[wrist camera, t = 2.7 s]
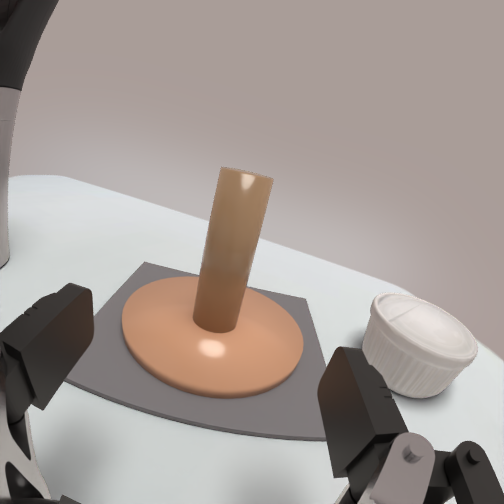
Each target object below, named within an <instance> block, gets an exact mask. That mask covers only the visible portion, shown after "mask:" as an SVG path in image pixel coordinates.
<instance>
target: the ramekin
mask: <svg viewBox="0 0 504 504" xmlns="http://www.w3.org/2000/svg"><path fill="white" fill-rule="evenodd" d="M370 313H371V316H370V319H369V322H368V326H367V329H366V333H365V336H364V340H363V344H362V351H363V353H364V355H365V357H366V359H367V361H368V363H369V365H373V366H374V367H375V368H376V370H377V371H378V372H379V373H380V374H381V375H382V376H383V378H384V380H385V382H386V384H387V386H388V388H389V389H391V390H392V391H394V392H396V393H398V394H401V395H404V396H407V397H411V398H427V397H432V396H435V395H437V394H439V393H440V392H442V391H443V390H444V389H445V388H446V387H447V386H448V385H449V384H450V383H451V382H452V381H453V380H454V379H455V378H456V377H457V376H458V375H459V374H460V373H461V372H462V370H463V369H464V368H466V367H467V366H469V365H470V364H471V363H472V362H473V360H474V358H475V357H476V355H477V352H478V347H477V342H476V340H475V338H474V336H473V335H472V334H471V332H470V331H469V330H468V329H467V328H466V327H465V326H464V325H463V324H462V323H461V322H460V321H459V320H457V319H456V318H455V317H453V316H452V315H451V314H449V313H447V312H446V311H444V310H443V309H441V308H439V307H437V306H435V305H433V304H432V303H429V302H427V301H424V300H422V299H419V298H416V297H413V296H410V295H405V294H400V293H382V294H379V295H377V296H376V297H375V298H374V300H373V302H372V305H371V309H370Z"/></svg>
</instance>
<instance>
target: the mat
mask: <svg viewBox="0 0 504 504" xmlns="http://www.w3.org/2000/svg"><path fill="white" fill-rule="evenodd" d="M186 276H190V277H199V275H196V274H192V273H187V272H183V271H179V270H175V269H171V268H167V267H163V266H159V265H155V264H151V263H147V262H144V263H143V264H142V265H141V266H140V267H139V268H138V269H137V270H136V271H135V272H134V273H133V274H132V275H131V276H130V277H129V279H128V280H127V281H126V282H125V283H124V284H123V285H122V286H121V287H120V288H119V289H118V290H117V291H116V293H115V294H114V295H113V296H112V297H111V298H110V299H109V300H108V301H107V302H106V304H105V305H104V306H103V307H102V308H101V309H100V310H99V311H98V313H97V314H96V315H95V316H94V336H93V340H92V342H91V344H90V346H89V347H88V348H87V350H86V351H85V352H84V354H83V355H82V356H81V358H80V359H79V361H78V362H77V363H76V365H75V366H74V367H73V369H72V370H71V371H70V373H69V374H68V376H67V377H66V378H65V380H64V381H66V382H68V383H70V384H72V385H74V386H77V387H79V388H81V389H84V390H86V391H88V392H91V393H93V394H95V395H98V396H100V397H103V398H106V399H108V400H111V401H113V402H116V403H119V404H122V405H125V406H127V407H130V408H133V409H136V410H140V411H143V412H146V413H149V414H153V415H156V416H159V417H163V418H167V419H170V420H174V421H178V422H182V423H186V424H190V425H195V426H199V427H204V428H209V429H214V430H220V431H225V432H231V433H237V434H244V435H251V436H259V437H268V438H279V439H292V440H311V441H327V440H326V435H325V431H324V426H323V421H322V416H321V412H320V407H319V402H318V397H317V390H318V385H319V382H320V379H321V377H322V375H323V374H324V372H325V370H326V364H325V361H324V357H323V354H322V351H321V347H320V344H319V340H318V337H317V334H316V330H315V327H314V324H313V321H312V317H311V314H310V311H309V308H308V304H307V301H306V299H304V298H299V297H295V296H290V295H285V294H280V293H275V292H271V291H266V290H261V289H257V288H252V287H248V286H246V287H247V288H249V289H252V290H254V291H256V292H259V293H261V294H262V295H264V296H266V297H268V298H270V299H271V300H273V301H274V302H276V303H277V304H279V305H280V306H281V307H282V308H284V309H285V310H286V311H287V312H288V313H289V314H290V315H291V316H292V317H293V319H294V320H295V321H296V323H297V324H298V326H299V328H300V330H301V333H302V336H303V343H304V344H303V352H302V355H301V357H300V360H299V362H298V364H297V366H296V368H295V370H294V372H293V373H292V375H291V376H290V377H289V378H288V379H287V380H286V381H285V382H283V383H282V384H280V385H279V386H278V387H276V388H274V389H272V390H270V391H268V392H265V393H262V394H259V395H256V396H250V397H245V398H235V399H221V398H210V397H204V396H198V395H194V394H191V393H187V392H184V391H181V390H179V389H176V388H174V387H171V386H169V385H167V384H165V383H164V382H162V381H160V380H158V379H157V378H155V377H154V376H152V375H151V374H150V373H148V372H147V371H146V370H145V369H144V368H143V367H142V366H141V365H140V364H138V363H137V361H136V360H135V359H134V358H133V356H132V355H131V354H130V352H129V350H128V348H127V346H126V344H125V341H124V338H123V332H122V313H123V308H124V305H125V303H126V301H127V300H128V298H129V297H130V296H131V295H132V294H133V293H134V292H135V291H136V290H138V289H139V288H141V287H143V286H144V285H146V284H149V283H151V282H154V281H157V280H161V279H166V278H172V277H186Z"/></svg>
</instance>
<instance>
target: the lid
mask: <svg viewBox="0 0 504 504" xmlns="http://www.w3.org/2000/svg"><path fill="white" fill-rule="evenodd" d="M272 184H273V178H270V177H267V176H263V175H260V174H257V173H253V172H248V171H243V170H239V169H233V168H227V167H221V170H220V174H219V179H218V184H217V188H216V193H215V197H214V202H213V207H212V212H211V216H210V221H209V226H208V232H207V237H206V242H205V247H204V252H203V258H202V263H201V269H200V275H199V277H190V276H186V277H172V278H166V279H161V280H157V281H154V282H151V283H149V284H146V285H144V286H143V287H141V288H139V289H138V290H136V291H135V292H134V293H133V294H132V295H131V296H130V297H129V298H128V300H127V301H126V303H125V305H124V308H123V313H122V332H123V338H124V341H125V344H126V346H127V348H128V350H129V352H130V354H131V355H132V356H133V358H134V359H135V360H136V361H137V363H138V364H140V365H141V366H142V367H143V368H144V369H145V370H146V371H147V372H148V373H150V374H151V375H152V376H154V377H155V378H157V379H158V380H160V381H162V382H164V383H165V384H167V385H169V386H171V387H174V388H176V389H179V390H181V391H184V392H187V393H191V394H194V395H198V396H204V397H210V398H221V399H235V398H245V397H250V396H256V395H259V394H262V393H265V392H268V391H270V390H272V389H274V388H276V387H278V386H279V385H280V384H282V383H283V382H285V381H286V380H287V379H288V378H289V377H290V376H291V375H292V373H293V372H294V370H295V368H296V366H297V364H298V362H299V360H300V357H301V355H302V352H303V344H304V343H303V336H302V333H301V330H300V328H299V326H298V324H297V323H296V321H295V320H294V319H293V317H292V316H291V315H290V314H289V313H288V312H287V311H286V310H285V309H284V308H282V307H281V306H280V305H279V304H277V303H276V302H274V301H273V300H271V299H270V298H268V297H266V296H264V295H262V294H261V293H259V292H256V291H254V290H252V289H249V288H247V287H246V286H247V282H248V278H249V274H250V270H251V266H252V263H253V259H254V255H255V251H256V247H257V243H258V239H259V235H260V231H261V227H262V223H263V219H264V215H265V212H266V208H267V204H268V200H269V196H270V192H271V188H272Z"/></svg>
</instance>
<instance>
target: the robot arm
mask: <svg viewBox="0 0 504 504" xmlns="http://www.w3.org/2000/svg"><path fill="white" fill-rule="evenodd" d="M58 1H59V0H0V267H2V266H3V265H4V264H5V263H6V262H7V261H8V259H9V255H10V251H9V238H8V175H9V163H10V153H11V144H12V137H13V130H14V124H15V118H16V112H17V107H18V103H19V98H20V94H21V91H22V86H23V83H24V79H25V76H26V74H27V71H28V69H29V67H30V64H31V61H32V59H33V56H34V53H35V50H36V47H37V45H38V42H39V40H40V38H41V35H42V33H43V31H44V29H45V27H46V25H47V22H48V20H49V18H50V16H51V14H52V12H53V11H54V9H55V7H56V5H57V3H58ZM93 336H94V317H93V300H92V292H91V290H90V289H88V288H85V287H82V286H79V285H76V284H73V283H68V284H67V285H66V286H64V287H63V288H62V289H61V290H59V291H58V292H57V293H52V294H50V295H47V296H45V297H42V298H41V299H39V300H38V301H37V302H36V303H34V304H33V305H32V307H30V308H28V309H27V310H26V311H25V312H24V314H21V315H20V316H19V317H18V318H17V319H15V320H14V321H13V322H12V323H11V324H10V325H9V326H7V327H6V328H5V329H4V330H3V331H2V332H1V333H0V504H81V503H78V502H76V501H74V500H72V499H70V498H68V497H66V496H64V495H62V496H61V499H60V501H57V500H52V499H51V496H50V493H49V490H48V487H47V485H46V483H45V480H44V478H43V476H42V475H41V473H40V470H39V468H38V465H37V461H36V456H35V451H34V446H33V441H32V435H31V428H30V421H29V414H28V411H27V409H28V407H29V406H30V404H32V405H34V406H36V407H37V408H39V409H41V410H44V409H45V407H46V406H47V404H48V403H49V401H50V400H51V398H52V397H53V396H54V394H55V393H56V391H57V390H58V388H59V387H60V385H61V384H62V383H63V381H64V380H65V378H66V377H67V376H68V374H69V373H70V371H71V370H72V369H73V367H74V366H75V365H76V363H77V362H78V361H79V359H80V358H81V356H82V355H83V354H84V352H85V351H86V350H87V348H88V347H89V346H90V344H91V342H92V340H93ZM387 388H388V386H387V384H386V382H385V380H384V378H383V376H382V375H381V374H380V373H379V372H378V371H377V370H376V368H375V367H374V366H373V365H369V363H368V361H367V359H366V357H365V355H364V353H363V351H362V350H361V349H357V348H348V347H338V348H337V349H336V350H335V352H334V354H333V356H332V358H331V360H330V362H329V364H328V366H327V368H326V370H325V372H324V374H323V375H322V377H321V379H320V382H319V385H318V390H317V397H318V402H319V407H320V412H321V416H322V421H323V426H324V431H325V435H326V440H327V445H328V450H329V455H330V460H331V466H332V471H333V476H334V478H343V477H348V480H349V484H348V485H346V487H345V488H344V489H343V491H342V493H341V494H340V496H339V497H338V499H337V500H336V502H335V503H334V504H444V503H445V502H446V501H448V500H449V499H451V498H452V497H454V496H455V499H456V502H457V504H504V493H503V491H502V488H501V486H500V484H499V481H498V479H497V477H496V474H495V472H494V470H493V468H492V466H491V463H490V461H489V459H488V457H487V455H486V453H485V451H484V450H483V449H482V447H481V446H479V445H478V444H476V443H475V442H472V441H464V442H462V443H460V444H459V445H458V446H457V447H456V448H455V449H454V450H453V451H452V452H445V451H436V450H434V449H433V447H432V445H431V444H430V442H429V441H428V440H427V439H425V438H424V437H423V436H421V435H419V434H416V433H409V431H408V429H407V427H406V425H405V422H404V420H403V418H402V416H401V414H400V411H399V409H398V407H397V405H396V403H395V401H394V399H392V394H391V392H390V390H389V389H387Z"/></svg>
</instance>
